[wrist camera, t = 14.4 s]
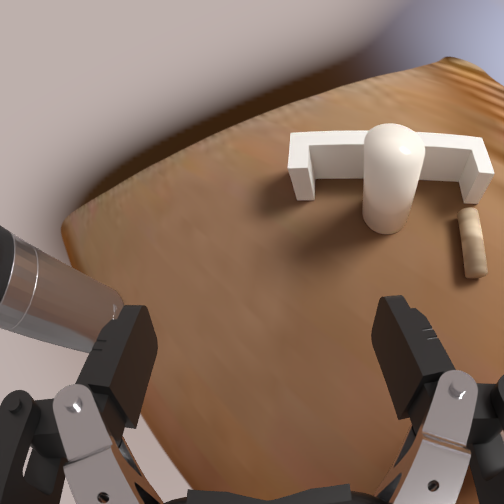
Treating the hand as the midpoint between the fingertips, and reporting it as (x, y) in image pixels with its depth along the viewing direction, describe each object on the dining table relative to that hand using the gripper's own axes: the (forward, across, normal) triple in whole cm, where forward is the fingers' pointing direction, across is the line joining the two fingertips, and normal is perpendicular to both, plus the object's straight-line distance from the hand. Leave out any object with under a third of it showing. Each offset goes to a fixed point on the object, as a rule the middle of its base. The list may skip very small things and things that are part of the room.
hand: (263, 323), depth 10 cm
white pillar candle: (+22, -14, +5) cm, 27 cm away
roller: (+16, -24, +6) cm, 29 cm away
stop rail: (+25, -15, +3) cm, 29 cm away
